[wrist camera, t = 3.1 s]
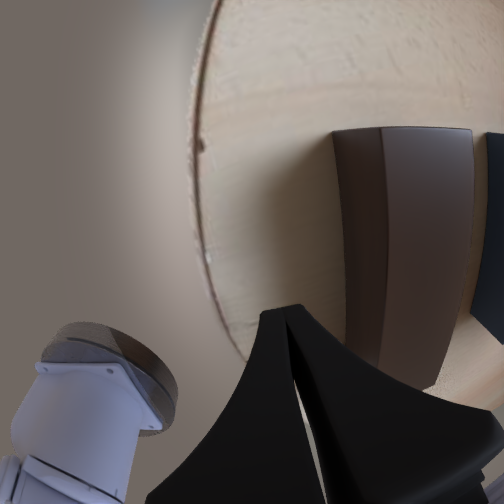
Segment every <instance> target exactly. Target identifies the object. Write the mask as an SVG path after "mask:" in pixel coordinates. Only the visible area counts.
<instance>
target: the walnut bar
mask: <svg viewBox="0 0 504 504" xmlns="http://www.w3.org/2000/svg"><path fill="white" fill-rule="evenodd" d="M332 136H333V143H334V149H335V157H336V164H337V172H338V180H339V189H340V199H341V209H342V221H343V235H344V252H345V276H346V344H345V346H346V347H347V348H348V349H350V350H351V351H352V352H354V353H355V354H356V355H358V356H359V357H360V358H362V359H363V360H365V361H366V362H368V363H369V364H371V365H372V366H374V367H375V368H377V369H379V370H380V371H382V372H384V373H385V374H387V375H389V376H391V377H393V378H394V379H396V380H398V381H400V382H402V383H404V384H407V385H409V386H411V387H413V388H415V389H418V390H420V391H422V390H424V389H426V388H429V387H431V386H433V385H434V384H435V382H436V380H437V377H438V375H439V372H440V369H441V367H442V364H443V361H444V358H445V355H446V353H447V350H448V347H449V343H450V340H451V337H452V334H453V330H454V327H455V323H456V320H457V316H458V312H459V308H460V304H461V299H462V295H463V290H464V285H465V280H466V274H467V269H468V262H469V256H470V248H471V239H472V229H473V216H474V191H475V176H474V151H473V138H472V130H470V129H462V128H447V127H420V126H391V127H370V128H358V129H347V130H338V131H332Z"/></svg>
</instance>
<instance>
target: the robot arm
mask: <svg viewBox="0 0 504 504" xmlns="http://www.w3.org/2000/svg"><path fill="white" fill-rule="evenodd" d="M34 366H35V369H36V370H37V371H38V373H39V375H38V377H37V378H36V380H35V381H34V383H33V385H32V386H31V388H30V390H29V391H28V393H27V395H26V396H25V398H24V400H23V402H22V403H21V405H20V407H19V409H18V410H17V412H16V414H15V416H14V418H13V421H12V424H11V441H12V445H13V448H14V450H15V452H16V453H17V455H18V457H19V458H18V457H17V456H15V455H14V454H11V455H10V456H9V455H4V456H3V457H2V459H1V462H0V504H124V503H125V497H126V492H127V486H128V481H129V476H130V471H131V467H132V462H133V457H134V453H135V448H136V443H137V440H138V436H139V432H140V429H143V430H161V429H162V426H163V425H162V423H161V422H160V421H159V419H158V418H157V417H156V415H155V414H154V413H153V411H152V410H151V409H150V407H149V406H148V404H147V403H146V402H145V400H144V399H143V397H142V396H141V394H140V393H139V392H138V390H137V389H136V387H135V386H134V384H133V382H132V381H131V379H130V378H129V376H128V375H127V373H126V371H125V370H124V368H123V367H122V366H121V365H120V364H118V363H50V362H36V363H35V365H34ZM294 380H295V383H296V386H297V389H298V392H299V395H300V398H301V401H302V404H303V407H304V410H305V413H306V416H307V419H308V421H309V424H310V427H311V430H312V433H313V437H314V441H315V445H316V449H317V454H318V458H319V463H320V468H321V473H322V477H323V482H324V487H325V493H326V497H327V503H328V504H504V473H503V474H502V475H501V476H499V477H498V478H497V479H496V480H495V481H493V482H492V483H491V484H489V485H488V486H487V487H486V488H484V489H483V488H482V485H481V482H482V481H484V479H485V477H484V475H483V473H482V471H481V469H482V468H483V467H484V466H485V465H487V464H488V463H489V462H490V461H491V460H492V459H493V458H494V457H495V456H496V455H498V454H499V453H500V452H501V451H502V449H503V448H504V430H503V428H502V427H501V425H500V423H499V422H498V420H497V419H496V418H495V416H494V415H493V414H492V413H491V412H490V411H488V410H483V409H478V408H474V407H469V406H465V405H461V404H457V403H453V402H450V401H447V400H444V399H441V398H438V397H435V396H432V395H429V394H427V393H424V392H422V391H420V390H418V389H415V388H413V387H411V386H409V385H407V384H404V383H402V382H400V381H398V380H396V379H394V378H393V377H391V376H389V375H387V374H385V373H384V372H382V371H380V370H379V369H377V368H375V367H374V366H372V365H371V364H369V363H368V362H366V361H365V360H363V359H362V358H360V357H359V356H358V355H356V354H355V353H354V352H352V351H351V350H350V349H348V348H347V347H346V346H345V345H343V344H342V343H341V342H340V341H339V340H337V339H336V338H335V337H334V336H333V335H332V334H331V333H329V332H328V331H327V330H326V329H325V328H324V327H323V326H322V325H321V324H320V323H319V322H318V321H317V320H316V319H315V318H314V317H313V316H312V315H311V314H310V313H309V312H308V311H307V309H306V308H305V307H304V306H303V305H301V304H296V305H291V306H286V307H281V308H276V309H271V310H265V311H262V312H261V314H260V320H259V326H258V331H257V335H256V339H255V342H254V345H253V348H252V351H251V354H250V357H249V360H248V362H247V364H246V367H245V369H244V372H243V374H242V376H241V379H240V381H239V383H238V385H237V387H236V389H235V391H234V393H233V394H232V397H231V398H230V400H229V402H228V403H227V405H226V407H225V408H224V410H223V411H222V413H221V414H220V416H219V418H218V419H217V421H216V422H215V424H214V425H213V426H212V428H211V429H210V431H209V432H208V433H207V435H206V436H205V437H204V438H203V440H202V441H201V442H200V443H199V444H198V446H197V447H196V448H195V449H194V450H193V451H192V453H191V454H190V455H189V456H188V457H187V458H186V460H185V461H184V462H183V463H182V464H181V465H180V466H179V467H178V468H177V469H176V470H175V471H174V472H173V473H172V474H170V475H169V476H168V477H167V478H166V479H165V480H164V481H163V482H162V483H161V484H159V485H158V486H157V487H156V488H155V489H154V490H153V491H151V492H150V493H149V494H148V495H147V497H146V501H145V504H326V503H325V499H324V496H323V492H322V489H321V485H320V481H319V478H318V474H317V470H316V467H315V463H314V459H313V456H312V452H311V448H310V445H309V441H308V437H307V433H306V429H305V425H304V422H303V418H302V414H301V410H300V406H299V402H298V398H297V394H296V390H295V385H294Z"/></svg>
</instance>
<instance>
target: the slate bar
mask: <svg viewBox="0 0 504 504" xmlns="http://www.w3.org/2000/svg"><path fill="white" fill-rule="evenodd" d="M486 136H487V149H488V210H487V223H486V233H485V242H484V249H483V256H482V262H481V268H480V273H479V278H478V283H477V288H476V292H475V296H474V300H473V304H472V308H471V312H470V314H471V315H472V316H474V317H475V318H476V319H477V320H478V321H479V322H480V323H481V324H482V325H483V326H484V327H485V328H486V329H487V330H488V331H489V332H490V333H491V334H492V335H493V336H494V337H495V338H496V339H497V340H498V341H499V342H500V343H501V344H502V345H504V134H500V133H491V132H487V133H486Z"/></svg>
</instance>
